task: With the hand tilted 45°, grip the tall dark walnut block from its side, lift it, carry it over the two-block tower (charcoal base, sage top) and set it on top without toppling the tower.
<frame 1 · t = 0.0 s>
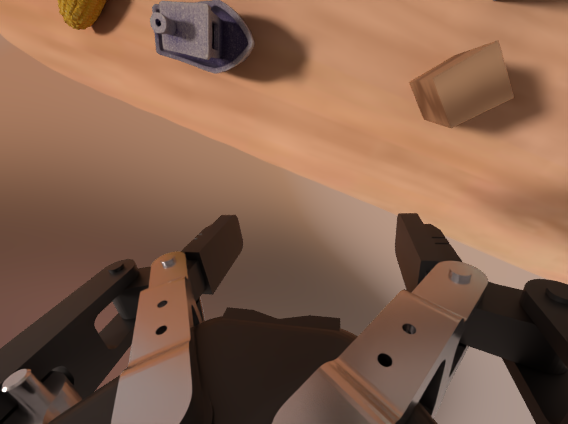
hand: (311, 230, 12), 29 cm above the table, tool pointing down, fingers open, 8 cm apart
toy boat: (220, 43, 36), on the table
walnut block: (438, 89, 32), on the table
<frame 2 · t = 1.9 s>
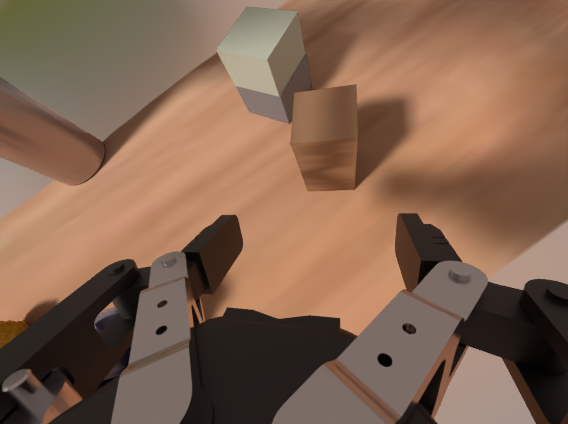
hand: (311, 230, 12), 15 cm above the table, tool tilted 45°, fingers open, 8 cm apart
tower base: (280, 99, 36), on the table, touching tower top
food: (13, 406, 30), on the table
tower top: (269, 70, 31), point 5 cm above the table, touching tower base
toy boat: (139, 356, 28), on the table
walnut block: (330, 170, 30), on the table
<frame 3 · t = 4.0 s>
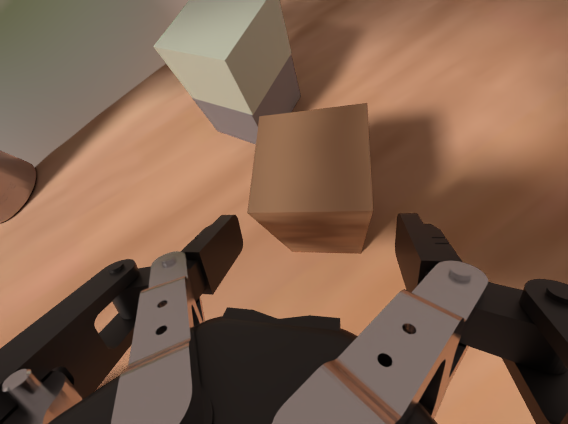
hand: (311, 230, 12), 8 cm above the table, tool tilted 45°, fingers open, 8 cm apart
tower base: (258, 114, 26), on the table, touching tower top
tower top: (240, 76, 22), point 5 cm above the table, touching tower base
walnut block: (325, 220, 20), on the table
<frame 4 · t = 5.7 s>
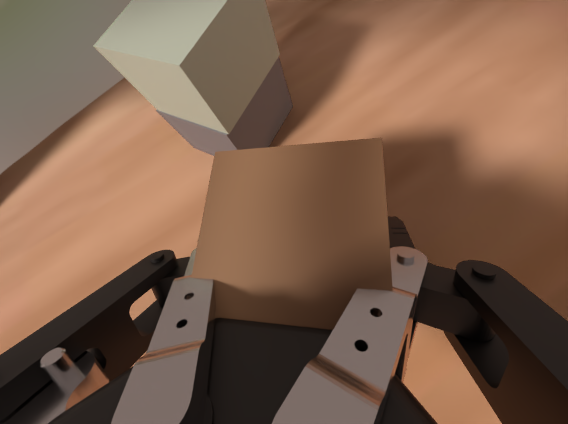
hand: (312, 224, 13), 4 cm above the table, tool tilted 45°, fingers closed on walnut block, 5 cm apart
tower base: (242, 128, 22), on the table, touching tower top
tower top: (216, 83, 17), point 5 cm above the table, touching tower base
walnut block: (320, 268, 16), on the table, touching gripper
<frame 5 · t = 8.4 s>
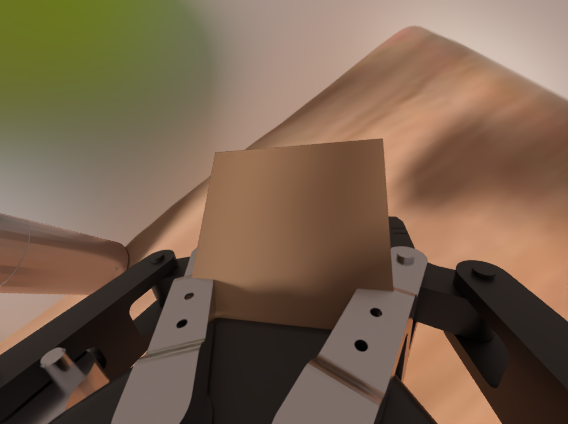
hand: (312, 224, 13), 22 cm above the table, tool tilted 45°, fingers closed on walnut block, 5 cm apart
walnut block: (321, 268, 16), point 17 cm above the table, touching gripper
when the fingers open (16 cm above the table, at t = 11.0 s): walnut block drops 1 cm, resting on tower top.
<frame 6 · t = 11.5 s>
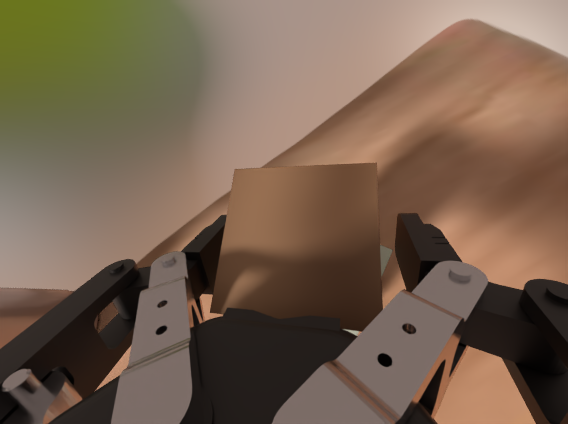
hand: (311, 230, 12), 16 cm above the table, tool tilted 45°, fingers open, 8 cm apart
walnut block: (322, 269, 17), point 10 cm above the table, touching tower top
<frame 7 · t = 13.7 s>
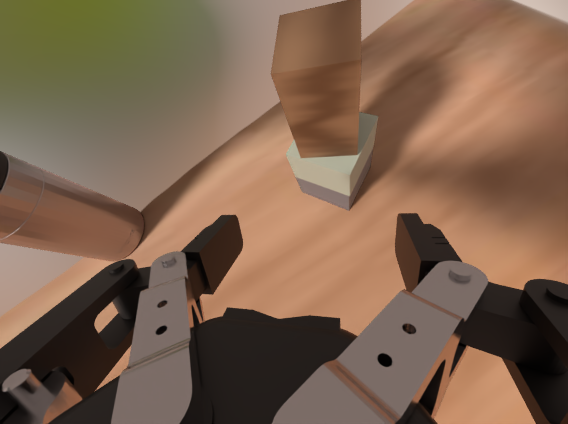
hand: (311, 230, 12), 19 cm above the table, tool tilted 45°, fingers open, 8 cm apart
tower base: (335, 179, 34), on the table, touching tower top
tower top: (333, 161, 29), point 5 cm above the table, touching tower base, walnut block
walnut block: (329, 133, 25), point 10 cm above the table, touching tower top
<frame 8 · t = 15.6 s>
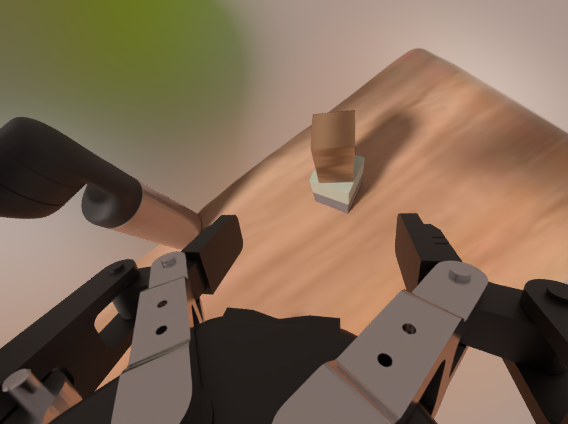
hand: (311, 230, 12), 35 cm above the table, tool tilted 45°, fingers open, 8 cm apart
tower base: (338, 192, 49), on the table, touching tower top
tower top: (337, 182, 45), point 5 cm above the table, touching tower base, walnut block
walnut block: (335, 167, 40), point 10 cm above the table, touching tower top
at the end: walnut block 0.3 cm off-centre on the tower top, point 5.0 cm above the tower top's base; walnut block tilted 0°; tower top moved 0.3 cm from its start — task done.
